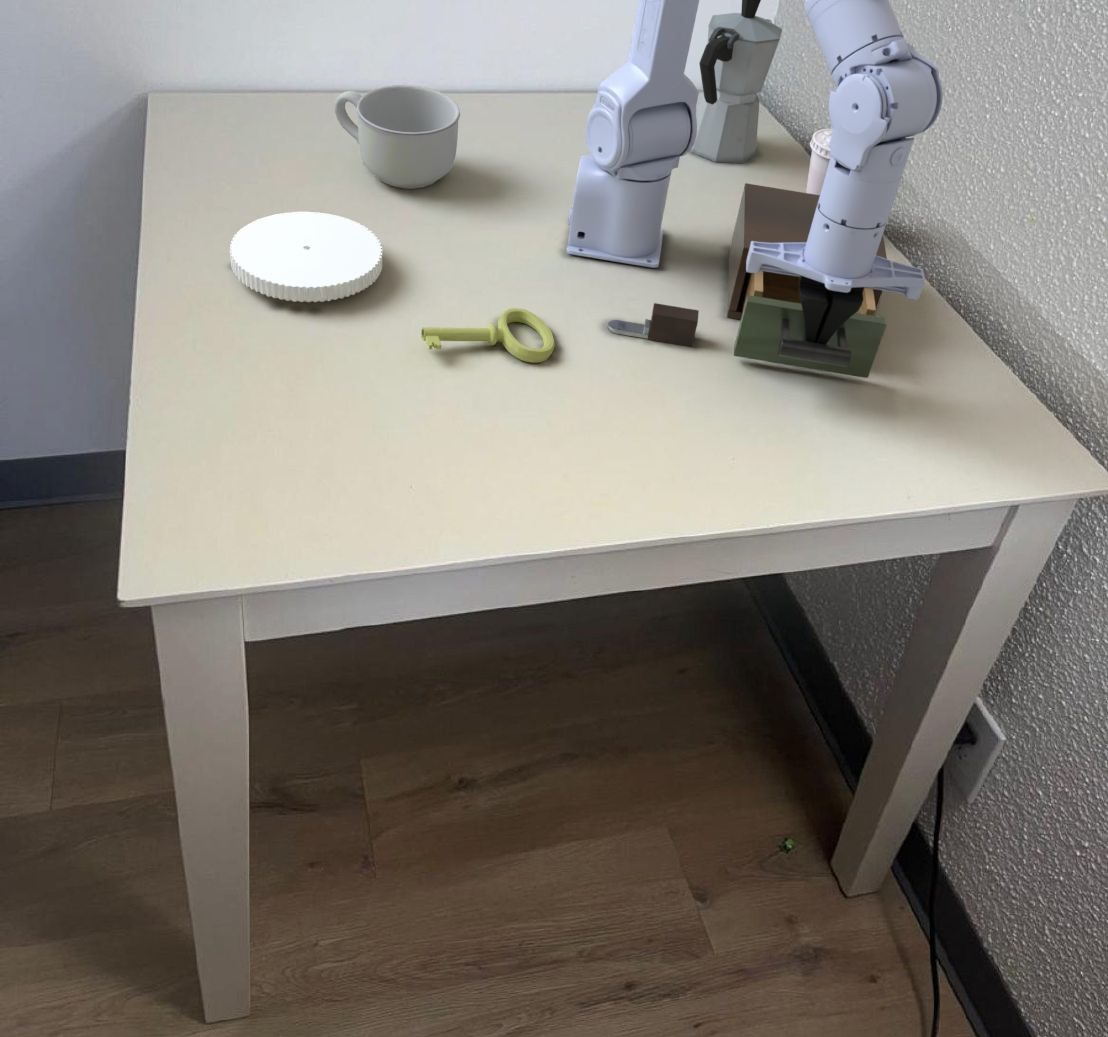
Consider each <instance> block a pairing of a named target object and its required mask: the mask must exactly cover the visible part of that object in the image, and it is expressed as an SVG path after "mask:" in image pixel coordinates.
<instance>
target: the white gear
mask: <svg viewBox="0 0 1108 1037" xmlns="http://www.w3.org/2000/svg"><path fill="white" fill-rule="evenodd" d="M229 256H230V266H231V267H230V268H231V270H232V271H233V274H234V275H235V277H236V278H238V281H239V282H241V283H242V284H243V285H245V287H247V288H248V287H249V288H250V290H252V291H253V290H254V291H255V292H256V293H260V294H261V295H265V296H266V297H272V299H279V300H280V301H281V300H282V301H283V300H285V301H286V302H287V301H289V302H290V301H292V302H299V303H304V302H306V303H311V302H313V303H317V302H321V303H322V302H325V301H327V302H330V301H332V300H334V301H336V300H338V299H344V298H345V297H347V298H348V297H350V296H351V295H352V296H354V295H355V294H356V293H360V292H361V291H364V290H365V289H366V288H367V289H368V288H369V287H370V286H371V285H373V282H374V283H375V282H376V280H377V279H379V276H380V275H381V272H382V270H383V246H382V242H381V240H380V239H379V237H378V236H376V234H375V233H374V232H373V230H370V229H369V228H368V227H366V226H365V225H363V224H361V223H360V222H356V221H355V220H351V219H350V218H346V217H345V216H340V215H338V214H336V215H335V214H333V213H327V212H320V211H318V212H315V211H307V210H306V211H299V210H298V211H291V212H289V211H285V212H284V213H282V212H279V213H278V214H276V213H274V214H272V215H267V216H262V217H261V218H257V219H256V220H252V221H251V223H250V222H249V223H247V224H246V225H244V226H242V228H239V231H236V234H234V235H233V237H232V238H231V241H230V244H229Z"/></svg>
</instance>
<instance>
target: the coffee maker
mask: <svg viewBox="0 0 1108 1037" xmlns="http://www.w3.org/2000/svg"><path fill="white" fill-rule="evenodd" d="M761 1H762V0H741V12H732V13H731V12H730V13H723V14H721V13H720V14H716V15H715V14H714V15H712V16H711V18H710V21H709V23H708V30H707V44H706V45H705V47H704V50H703V52H702V55H701V58H700V60H699V63H698V64H699V70H700V77H701V84H702V93H701V95H700V97H699V101H698V102H697V103H698V104H697V105H696V118H697V135H696V139H695V142H694V145H693V147H692V149H691V150H690V153H692V154H694V155H696V156H698V157H702V158H704V159H706V160H709V161H712V162H714V163H726V164H727V163H728V164H729V163H730V164H744V163H745V162H747V161H748V160H750V159H751V158H753V157H754V156H756V154H757V144H758V142H757V140H758V128H759V114H760V98H759V95H758V94H759V93H761V92H762V90H763V87H764V84H765V82H766V79H767V76H768V73H769V71H770V68H771V65H772V62H773V60H774V57H775V54H776V51H777V49H778V45H779V44H780V40H781V36H782V33H783V28H782V27H780V26H778V25H776V24H774V23H773V21H772V19H768V18H764V17H761V16H758V15H756V14H757V11H758V10H759V9H758V8H759V7H760V4H761Z"/></svg>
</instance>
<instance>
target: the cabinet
mask: <svg viewBox="0 0 1108 1037" xmlns="http://www.w3.org/2000/svg"><path fill="white" fill-rule="evenodd" d="M743 186H744V187H743V191H742V195H741V199H740V205H739V208H738V212H737V216H736V221H735V225H734V228H733V233H732V238H731V241H730V242H731V243H730V246H729V255H728V256H729V257H728V278H727V300H726V301H727V302H726V318H728V319H729V318H730V319H735V320H741V318H742V314H743V284H744V280H745V276H746V260H747V256H748V252H749V248H750V244H751V241H755V242H765V243H798V242H807V239H808V236H809V232H810V228H811V225H812V221H813V218H814V214H815V211H816V207H817V204H818V200H819V197H820V195H815V194H809V193H806V192H801V191H795V190H789V189H784V188H777V187H771V186H765V185H760V184H754V183H748V182H745V183H744V185H743ZM876 256H879V257H882V258H885V259H888V257H887V250H886V244H885V239H884V234H883V235H882V238H881V242H880V245H879V248H878V251H877V254H876ZM873 292H874V299H875V306H876V310H877V309H878V306H879V303H880V301H881V296H882V294H883V290H877V289H873Z"/></svg>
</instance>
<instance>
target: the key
mask: <svg viewBox="0 0 1108 1037" xmlns="http://www.w3.org/2000/svg"><path fill="white" fill-rule="evenodd" d="M510 323H522V324H526V325H527V326H529V327H531V328H532V329H534V330H535V331H536V332H537V333H538V334H539V336H540V337H541V339H542V341H543V346H542V347H541V348H537V347H536V348H535V347H530V346H526V345H524V344H523V343H522V342H520V341H519V340H518V339H516V337H515V336H514V335H513V334H512V332H511V331H510V328H509V326H508V324H510ZM420 336H421V341H422V342H425V344H426V346H427V348H428V350H433V349H436V350H442V346H443V345H442V342H487V343H488V345H489V346H495V345H496V344H497V342H501V343H502V346H504V348H505V350H507V351H508V352H509V353H510V354H511V355H512V356H514V357H515V358H517V359H519V360H521V361H524V362H527V363H535V364H536V363H542V362H546V361H547V360H549V358H550V356H552V353H553V352H554V351H555V346H556V345H555V343H556V342H555V338H554V336H553V334H552V331H551V330H550V328H549V326H548V325H547V324H546V323H545V321H543V320H542V318H540V317H539V316H538V315H536V314H535V313H534V312H531V311H529V310H527V309H524V308H520V307H519V308H517V307H511V308H507V309H505V310H503V311H502V313H501V315H500V316H499V319H498V321H497V326H496V324H494V323H489V324H488V325H487V327H437V326H436V327H434V326H433V327H429V326H424V327H423V326H422V327H421V330H420Z"/></svg>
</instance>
